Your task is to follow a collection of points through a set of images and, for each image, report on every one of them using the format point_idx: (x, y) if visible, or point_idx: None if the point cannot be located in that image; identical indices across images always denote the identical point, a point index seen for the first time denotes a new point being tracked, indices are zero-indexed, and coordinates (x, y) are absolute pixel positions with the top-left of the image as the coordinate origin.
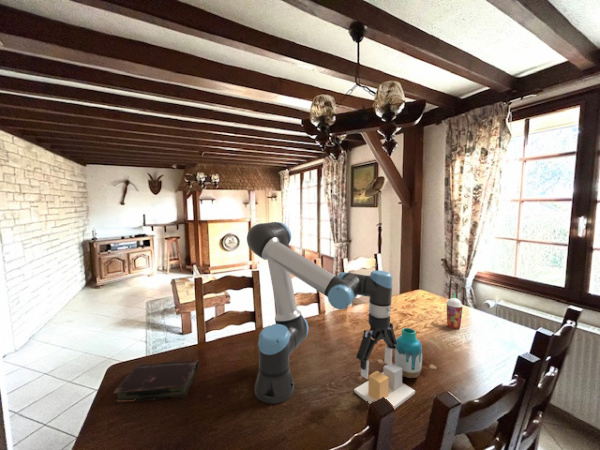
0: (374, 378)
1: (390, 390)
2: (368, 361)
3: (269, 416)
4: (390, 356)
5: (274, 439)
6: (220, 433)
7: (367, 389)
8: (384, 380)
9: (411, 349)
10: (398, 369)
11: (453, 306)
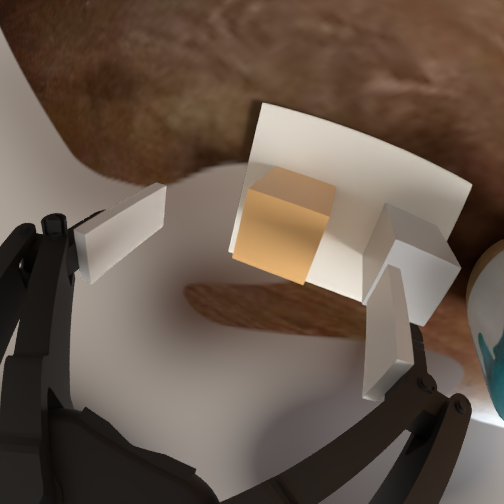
0: (246, 224)
1: (355, 241)
2: (90, 280)
3: (54, 23)
4: (366, 347)
5: (35, 80)
6: (13, 22)
7: (300, 152)
8: (269, 271)
9: (495, 402)
10: None
11: None
